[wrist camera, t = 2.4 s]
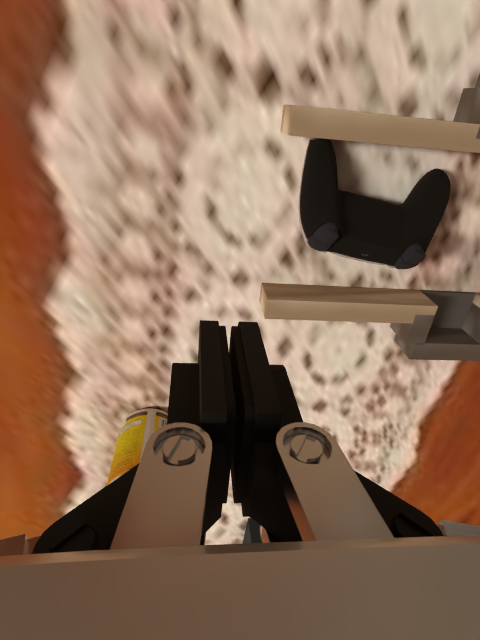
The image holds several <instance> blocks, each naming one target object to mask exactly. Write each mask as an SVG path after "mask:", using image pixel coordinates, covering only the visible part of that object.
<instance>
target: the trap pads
mask: <svg viewBox="0 0 480 640" xmlns="http://www.w3.org/2000/svg"><path fill="white" fill-rule="evenodd" d="M420 291H421V292H422V293H423V294H424V295H426V296H427V297H428V298H429V299H430V300H431V301H433V302H434V303H435V304H436V305H437V306H438V308H437V311H436V313H435V316H434V319H433V322H432V324H431V327H430V328H460V329H462V327H463V324H464V322H465V319H466V317H467V314H468V312H469V309H470V307H471V305H472V302H473V300H474V297H475V295H476V294H475V293H472V292H450V291H427V290H420Z"/></svg>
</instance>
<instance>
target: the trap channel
mask: <svg viewBox="0 0 480 640" xmlns="http://www.w3.org/2000/svg"><path fill="white" fill-rule="evenodd" d="M281 132H282V133H285V134H287V135H291V136H302V137H313V138H324V139H334V140H345V141H356V142H367V143H377V144H388V145H399V146H410V147H421V148H431V149H442V150H453V151H464V152H475V153H480V75H479V78H478V81H477V84H476V87H475V88H465V89H463V92H462V95H461V99H460V102H459V105H458V108H457V112H456V115H455V118H454V121H453V122H452V121H442V120H432V119H423V118H413V117H403V116H393V115H384V114H374V113H364V112H354V111H345V110H335V109H325V108H315V107H306V106H296V105H284V108H283V116H282V124H281ZM475 294H476V295H475V297H474V300H473V302H472V305H471V307H470V309H469V312H468V314H467V317H466V319H465V322H464V324H463V327H462V329H460V328H430V327H431V324H432V322H433V319H434V316H435V313H436V311H437V308H438V306H437V305H436V304H435V303H434V302H433V301H431V300H430V299H429V298H428V297H427V296H426V295H424V294H423V293H422V292H421V291H420V290H404V289H382V288H359V287H337V286H314V285H292V284H269V283H262V285H261V293H260V304H261V308H262V311H263V314H264V317H265V319H290V320H321V321H351V322H381V323H391V325H390V327H391V328H392V330H393V331H394V332H395V333H396V336H395V339H394V341H395V342H396V343H397V344H398V346H399V347H400V348H401V349H402V351H403V352H404V353H405V354H406V355H407V357H408V358H409V359H420V360H468V361H480V293H475Z"/></svg>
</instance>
